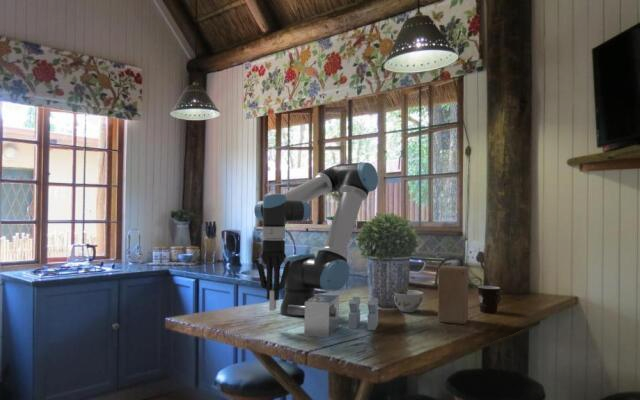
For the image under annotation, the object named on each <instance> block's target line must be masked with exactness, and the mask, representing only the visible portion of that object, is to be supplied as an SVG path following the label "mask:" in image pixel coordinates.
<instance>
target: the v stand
mask: <svg viewBox="0 0 640 400" xmlns="http://www.w3.org/2000/svg"><path fill="white" fill-rule="evenodd" d="M360 304H361V297H360V296H352V299H349V301H348V306H349V307H348V308H349V313H348V329H350V330H351V329H353V330H356V329H357V328H358V326H359V325H360V324H361V309H360ZM378 307H379V298H378V297H370V300H368V301H367V308H368V313H367V327H366V328H367V330H368V331H370V330H371V331H375V330H377V327H378V325H379V310H378V309H379V308H378Z"/></svg>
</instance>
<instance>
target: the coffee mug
mask: <svg viewBox="0 0 640 400" xmlns="http://www.w3.org/2000/svg"><path fill="white" fill-rule="evenodd" d="M500 289H501V288H500V287H499V286H493V285H478V286H477V293H478V302H479V312H481V313H483V314H497V312H498V306H499V304H500V302H501V294H500Z"/></svg>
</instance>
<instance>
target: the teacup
mask: <svg viewBox="0 0 640 400" xmlns="http://www.w3.org/2000/svg"><path fill="white" fill-rule="evenodd" d="M407 290H408V291H407V295H405V294H398V293H394V294H395V296H394V300H393V302H394V301H395V302H394V304H395V306H396V307H397V309H399V311H400V312H404V313H414V312H415V311H416V310H417V309H418V308H419V307H420V306H421V303H422V301H423V298H424V292H423V291H420V290H416V289H415V290H414V289H407Z"/></svg>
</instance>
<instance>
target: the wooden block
mask: <svg viewBox="0 0 640 400" xmlns="http://www.w3.org/2000/svg"><path fill="white" fill-rule="evenodd" d="M437 273H438V274H437V275H438V276H437V277H438V279H437V285H438V287H437V290H438V292H437V294H438V295H437V297H438V298H437V301H438V302H437V303H438V304H437V319H438V322H439V323H448V324H457V325H458V324H460V325H465V324H466V323H467V321H468V319H469V268H468V267H467V266H463V265H461V266H460V265H442V266H440V267H439V268H438V272H437Z"/></svg>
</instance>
